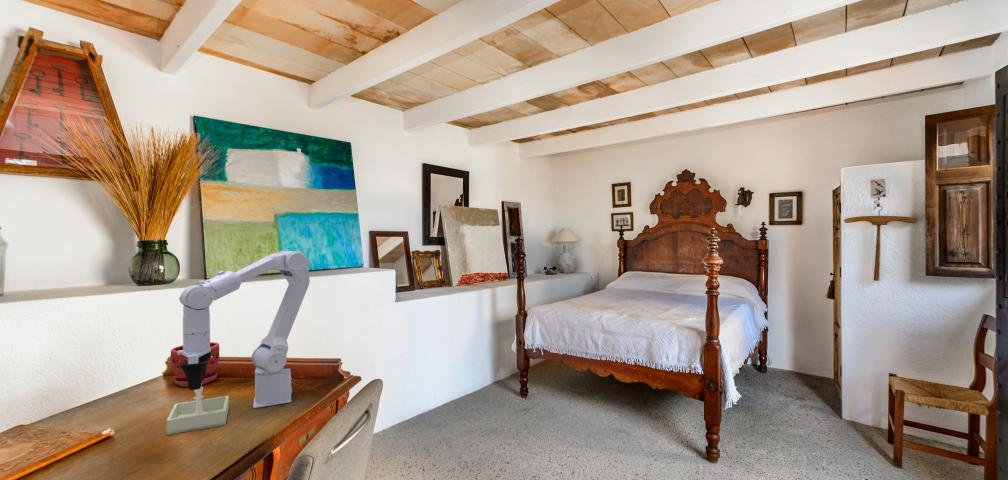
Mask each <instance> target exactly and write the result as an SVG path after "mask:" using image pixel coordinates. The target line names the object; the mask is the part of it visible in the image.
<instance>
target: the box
mask: <svg viewBox="0 0 1008 480" xmlns="http://www.w3.org/2000/svg"><path fill="white" fill-rule="evenodd" d="M229 397H230V396H229V395H225V396H217V397H211V398H205V399H203V398H202V399H201V403H202V409H203V411H204V412H206V413H204V414H198V415H193V414H194V413H195V409H196V401H197V400H192V401H190V400H189V401H183V402H178V403H175V404H174V406H173V407H172V409H171V411H170V412H169V416H168V417H167V419H166V422H165V423H166V436H169V435H170V436H171V435H176V434H181V433H188V432H193V431H199V430H206V429H210V428H211V429H212V428H216V427H222V426H223V427H224V426H226V425H227V419H228V415H229V414H228V413H229V410H230V406H229V405H230V403H229V399H230V398H229ZM191 415H192V416H191Z"/></svg>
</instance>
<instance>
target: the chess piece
mask: <svg viewBox="0 0 1008 480" xmlns="http://www.w3.org/2000/svg"><path fill="white" fill-rule="evenodd" d="M202 385H203V384H201V387H200V389H197V390H193V391H194V393H195V396H194V397H193V400H195V401H196V409H195V413H194V414H193V415H198V414H204V413H206V412H204V411H203V409H202V403H201V400H202V399H203V398H205V397H204V395H202V393H203V390H204V387H203V386H202ZM191 416H192V415H191Z"/></svg>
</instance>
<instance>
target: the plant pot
mask: <svg viewBox="0 0 1008 480" xmlns="http://www.w3.org/2000/svg"><path fill="white" fill-rule="evenodd" d="M210 347H211V351H212V354H211V356H210V357H209V360H208V363H207V367H206V372H205V377H204V380H202V385H206V384H208V383H211V382H212V381H214V380H215V379H216V378H217V377H218V372H217V371H216V369H217V367H218V365H219V359H220V343H218V342H212V341H210ZM179 350H183V345H179V346H175V347H172V348H171V349H170V361H171V362H170V364H171V367H172V371H173V373H174V375H175V376H176V377H175V378H174V381H173V382H174V384H175V385H177V386H180V387H189V386H188V382H187V378H186V375H185V373H184V371H183V370H182V369H181V367H180V364H181V362H188V359H187V358H186V356H184V355H183V354H180V355H178V354H177V352H178V351H179Z"/></svg>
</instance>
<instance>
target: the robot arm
mask: <svg viewBox="0 0 1008 480" xmlns="http://www.w3.org/2000/svg"><path fill="white" fill-rule="evenodd" d="M310 264H311V261H310V260H309V259H308V257H307V256H306V254H305V253H304V252H302V251H300V250H294V251H293V250H287V249H283V250H279V251H278V252H274V253H270V254H269V255H266V256H264V257H263V258H261V259H259V260H257V261H255V262H253V263H251V264H249V265H247V266H245V267H243V268H241V269H239V270H237V271H231V270H226V271H224V270H219V271H218V272H217V275H214V276H212V277H210V278H208V279H206V280H202V279H201V280H200V281H198V285H197V284H196V285H193V284H192V285H189V286H187V287H185V288H184V289H183V291H182V292H181V294H180V296H179V297H178V299H179V302H180V304H181V305H183V306H182V308H183V310H182V312H183V313H182V346H183V350H179V351H178V352H177V354H178V355H180V354H183V355H184V356H186V358H187V359H186V360H187V361H188V362H181V364H180V367H181V369H182V370H183V371H184V373H185V375H186V378H187V382H188V386H187V387H188V389H189V391H194V390H197V389H200V387H202V385H203V384H202V380H204V377H205V372H206V367H207V363H208V360H209V357H210V356H211V354H212V351H211V347H210V342H211V316H210V315H211V314H210V306H211V305H212V304H213V302H214V301H218V300H219V299H221V298H223V297H226V296H227V295H229V294H231V293H233V292H236V291H237V290H239V289H240V287H241V285H242V283H244V282H246V281H249V280H250V279H253V278H255V277H257V276H260V275H262V274H264V273H267V272H269V271H279V273H281V274H282V275H283V276H284V278H285V280H286V282H287V284H288V286H287V287H286V290H285V293H284V295H283V297H282V300H281V303H280V305H279V307H278V309H277V312H276V314H275V317H274V319H273V322H272V324H271V326H270V328H269V330H268V333H267V334H266V336H265V337H263V339H261V341H260V344H258V346H257V347H256V348H255V349H254V350H253V351H252V354H251V362H252V364H253V365H254V366H255V369H254V396H255V397H254V398H253V405H252V407H253V409H257V408H265V407H271V406H276V405H277V406H278V405H282V404H287V403H288V404H289V403H292V394H293V387H292V375H291V374H292V373H291V370H292V369H291V368H285V367H286V364H287V360H288V357H287V355H288V354H287V353H288V350H289V344H288V338H289V336H290V333H291V330H292V328H293V325H294V323H295V321H296V319H297V315H298V314H299V311H300V308H301V306H302V303H303V300H304V298H305V296H306V293H307V291H308V289H309V287H310V282H311V281H310V272H309V271H310V269H309V268H310ZM211 357H212V356H211ZM201 384H202V385H201Z"/></svg>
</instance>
